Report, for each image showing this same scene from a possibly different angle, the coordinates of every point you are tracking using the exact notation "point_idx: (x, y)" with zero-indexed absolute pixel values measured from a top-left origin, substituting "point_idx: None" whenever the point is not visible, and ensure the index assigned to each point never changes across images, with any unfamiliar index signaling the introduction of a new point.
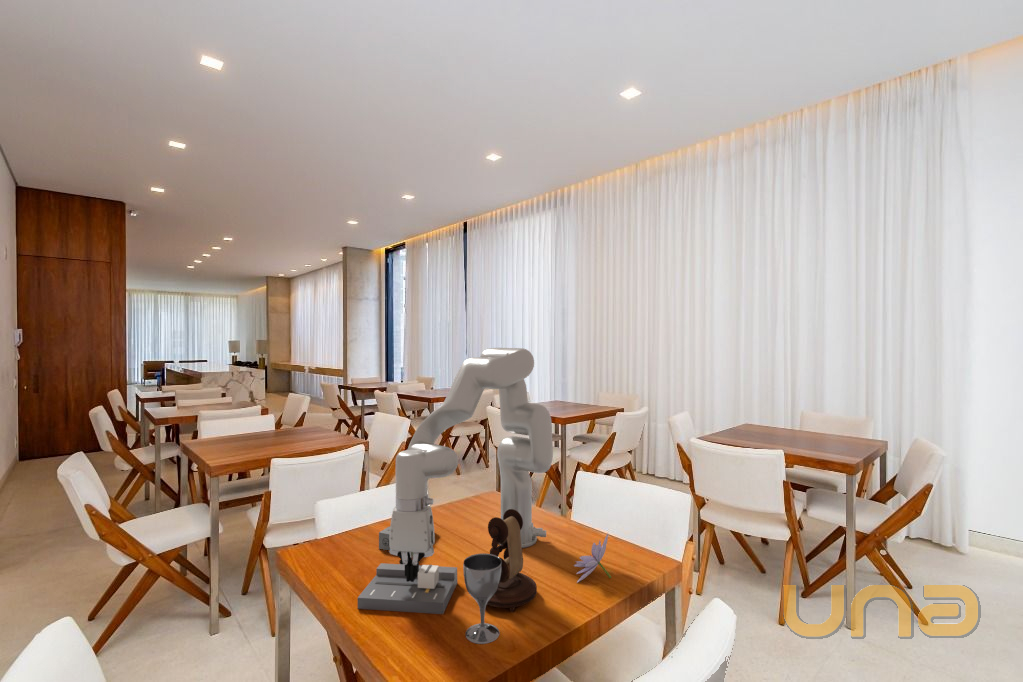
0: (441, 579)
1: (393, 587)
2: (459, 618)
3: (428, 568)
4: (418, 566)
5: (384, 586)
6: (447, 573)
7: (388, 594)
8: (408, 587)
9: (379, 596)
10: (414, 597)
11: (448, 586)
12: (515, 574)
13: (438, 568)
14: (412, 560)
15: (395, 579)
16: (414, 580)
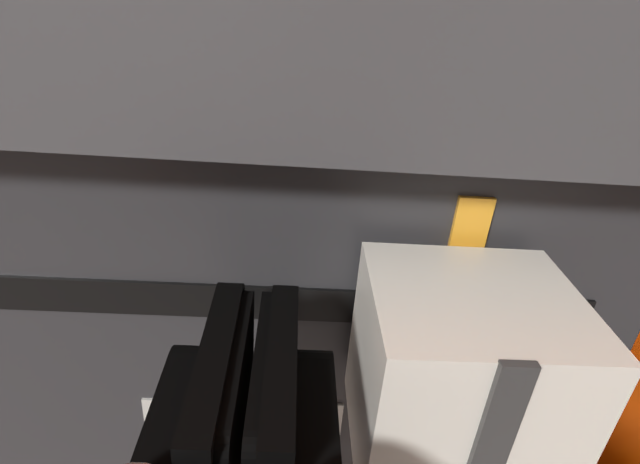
0: (567, 182)
1: (104, 350)
2: (623, 451)
3: (490, 456)
4: (336, 430)
5: (6, 339)
6: None
7: (118, 435)
8: None
9: (62, 460)
10: (343, 457)
11: (628, 306)
12: None
13: (617, 352)
14: (212, 447)
15: (36, 210)
16: (263, 219)
